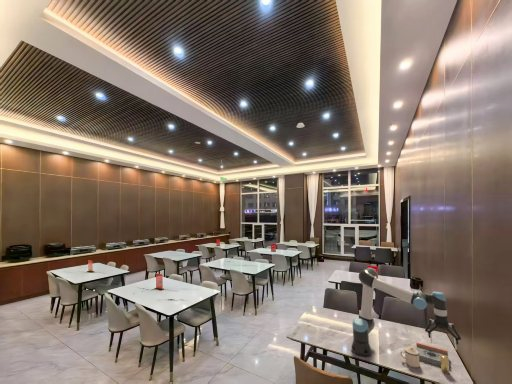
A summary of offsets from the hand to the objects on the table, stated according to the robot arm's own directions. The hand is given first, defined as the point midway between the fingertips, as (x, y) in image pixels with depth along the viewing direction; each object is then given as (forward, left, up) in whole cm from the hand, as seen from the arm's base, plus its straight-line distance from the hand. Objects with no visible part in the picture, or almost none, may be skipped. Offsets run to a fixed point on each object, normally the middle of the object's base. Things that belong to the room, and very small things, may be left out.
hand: (443, 345), depth 166 cm
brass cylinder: (0, 0, -17) cm, 17 cm away
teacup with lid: (-21, -3, -18) cm, 27 cm away
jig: (-8, +13, -17) cm, 23 cm away
